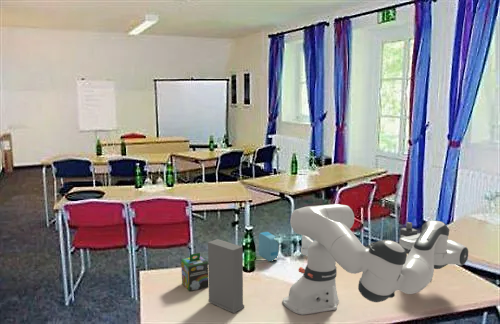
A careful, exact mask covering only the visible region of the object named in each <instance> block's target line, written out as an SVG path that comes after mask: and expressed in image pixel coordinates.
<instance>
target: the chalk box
mask: <svg viewBox="0 0 500 324" xmlns="http://www.w3.org/2000/svg"><path fill="white" fill-rule="evenodd" d="M180 263H181V264H180V265H181V267H180V268H181V284H182V285H183V286H184V287H185V288H186V289H187V290H188V291H189V292H191V291H192V292H193V291H197V290H201V289H206V288H209V273H208V260H206V259H205V258H204V257H203V256H202V255H201V252H196V253H191V254H190V255H189V257H186V258H181V260H180Z"/></svg>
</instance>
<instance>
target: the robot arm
mask: <svg viewBox="0 0 500 324" xmlns="http://www.w3.org/2000/svg"><path fill="white" fill-rule="evenodd" d="M289 223H290V227H291V229H292V230H293V231H294V233H296V234H297V235H300V236H302V235H304V236H307V237H309V238H310V239H311V240H313V242H312V243H311V244H310V245H309V247H308V256H306V257H307V260H306V261H307V262H306V263H307V264H306V266H305V268H303V267H301V266H300V267H299V268H298V272H299V273H301V274H303V275H302V276H301V277H300V278H299V279H297V281H296V282H294V284H292V285H291V286H290V288H289V291H288V296H286V297H283V299H282V305H284V306H285V307H286V308H287V309H288V310H290V311H291V312H293V313H295V314H298V315H300V316H301V315H303V316H304V315H309V314H316V313H322V312H328V311H330V312H331V311H336V310H337V309H338V307H337V305H338V304H339V303H340V300H339V296H338V291H337V283H336V277H337V266H336V264H337V265H339V266H340V267H341V268H342V269H343V270H344V271H345V272H347V273H349V274H359V273H361V272H362V274H361V277H360V278H359V280H358V285H357V287H358V292H359V293H360V295H361V296H362V297H363V298H364V299H366V300H368V301H369V302H372V303H380V302H385V301H387V300H388V299H391V298H394V297H395V296H396V295H395V294H396V291H400V292H402V293H404V294H407V295H415V294H417V293H419V292H421V291H422V290H424V289H425V288H426V287H427V286H428V285H429V284H430V283H431V281H432V280H433V277H434V271H435V270H440V269H442V268H445V267H447V266H448V265H456V266H463V265H465V264H466V263H467V260H468V257H469V249H468V247H467V246H466V245H464V244H462V243H460V242H458V241H455V240H453V239H449V234H450V227H448V226H447V225H446V224H445V223H444V222H443V221H440V220H428V221H426V222H424V223H423V224H422V225H421V233H420V232H417V235H412V236H407V237H406V235H401V238H399V243H398V242H396V241H394V240H391V239H381V240H378V241H376V242H371V243H370V244H369V245H368V247H369V248H366V247H367V246H365V245H363V244H362V242H361V241H360V240H359V238H358V237H357V236H356V235H355V234H354V232H353V231H352V230H351V228H353V226H354V223H355V213H354V211H353V209H352V208H351V207H350V206H349V205H346V204H340V203H331V204H321V205H308V206H304V207H303V206H302V207H300V208H297V209H294V210H293V212H292V213H291V214H290V222H289ZM404 248H406V249H410V250H411V251H410V252H409V254H407V252H406V250H405V249H404Z"/></svg>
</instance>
